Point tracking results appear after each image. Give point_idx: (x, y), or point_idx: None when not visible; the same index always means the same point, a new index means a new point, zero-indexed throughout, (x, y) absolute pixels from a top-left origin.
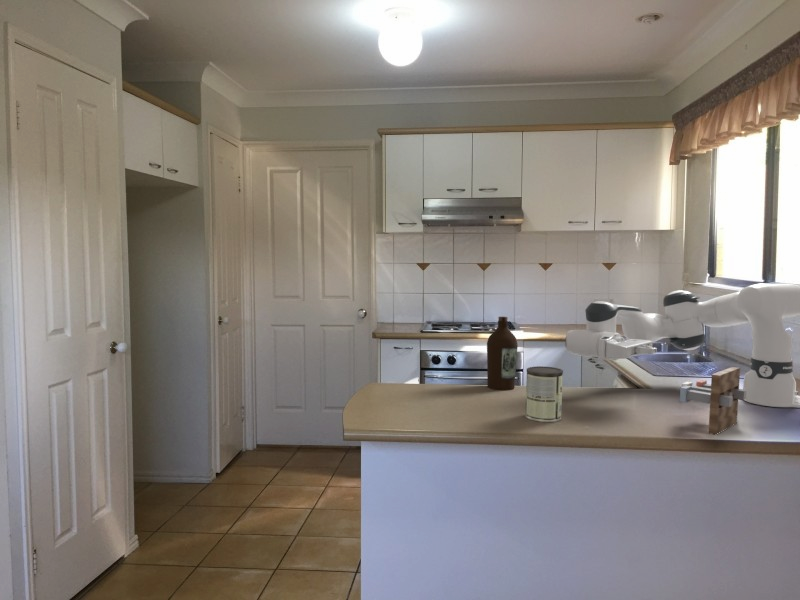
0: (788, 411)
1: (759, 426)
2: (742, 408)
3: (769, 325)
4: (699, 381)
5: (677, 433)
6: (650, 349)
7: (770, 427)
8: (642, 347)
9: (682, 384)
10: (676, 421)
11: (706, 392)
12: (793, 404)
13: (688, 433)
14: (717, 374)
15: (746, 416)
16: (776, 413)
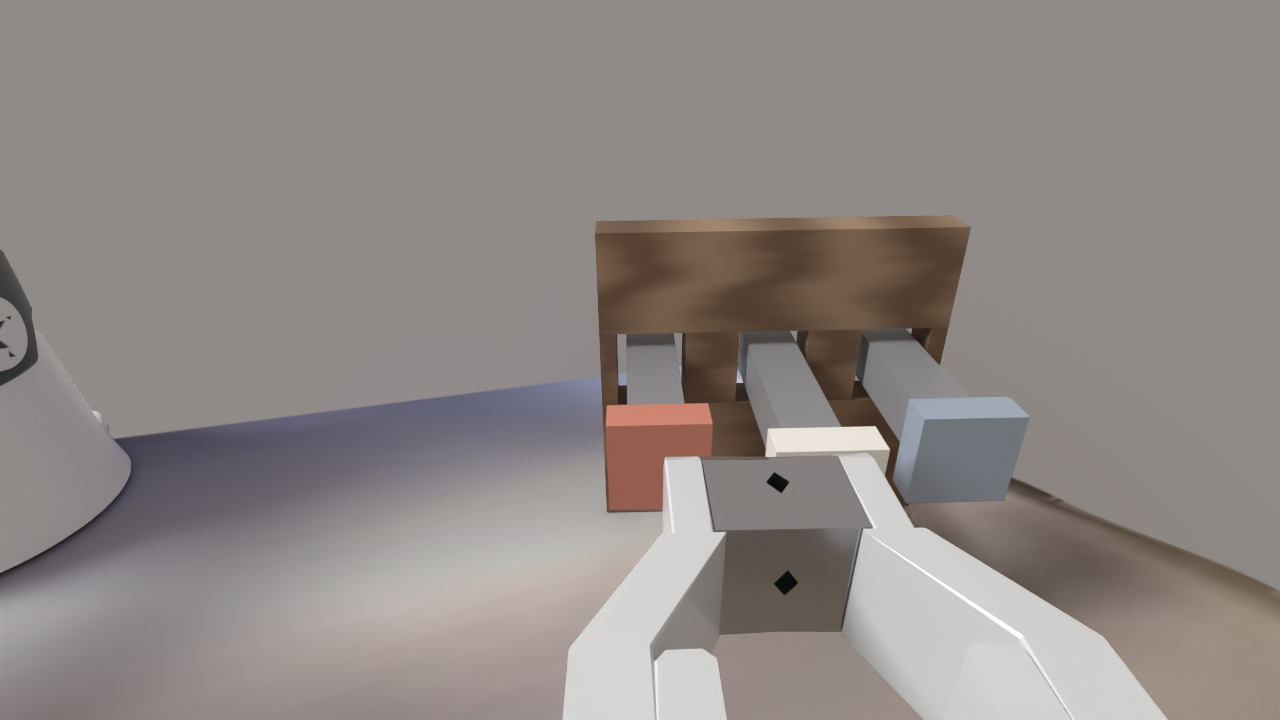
0: (203, 436)
1: (591, 437)
2: (216, 552)
3: None
4: (681, 418)
5: (1084, 579)
6: (882, 493)
7: (575, 418)
8: (1027, 603)
9: (887, 451)
10: (869, 675)
11: (889, 365)
12: (102, 425)
13: (1016, 550)
14: (934, 221)
15: (426, 499)
16: (276, 451)
